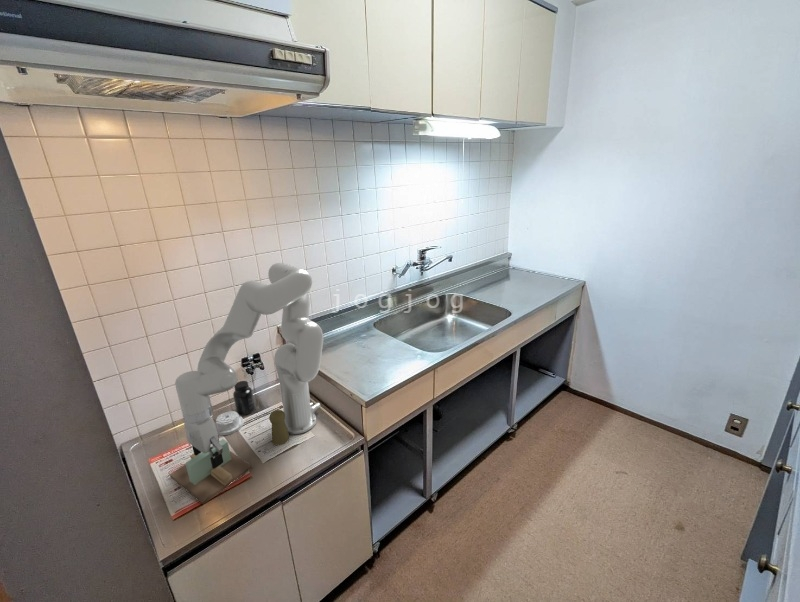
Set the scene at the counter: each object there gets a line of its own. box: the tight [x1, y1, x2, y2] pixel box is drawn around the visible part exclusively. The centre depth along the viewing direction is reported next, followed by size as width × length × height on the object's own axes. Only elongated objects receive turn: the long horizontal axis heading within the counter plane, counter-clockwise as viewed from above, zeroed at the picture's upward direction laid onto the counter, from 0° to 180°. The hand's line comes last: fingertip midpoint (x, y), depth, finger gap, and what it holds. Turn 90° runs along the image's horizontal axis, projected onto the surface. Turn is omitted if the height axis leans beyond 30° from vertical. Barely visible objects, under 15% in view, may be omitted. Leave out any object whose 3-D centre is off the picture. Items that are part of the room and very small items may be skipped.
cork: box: [268, 409, 291, 446], centre depth 127 cm, size 6×6×11 cm
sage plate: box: [184, 438, 231, 485], centre depth 113 cm, size 12×2×7 cm, turn 147°
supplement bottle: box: [232, 380, 256, 416], centre depth 142 cm, size 7×7×12 cm
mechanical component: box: [214, 410, 245, 436], centre depth 135 cm, size 10×4×10 cm
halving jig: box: [169, 450, 253, 506], centre depth 115 cm, size 16×18×3 cm
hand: (208, 458), depth 113 cm, fingers open, 9 cm apart
